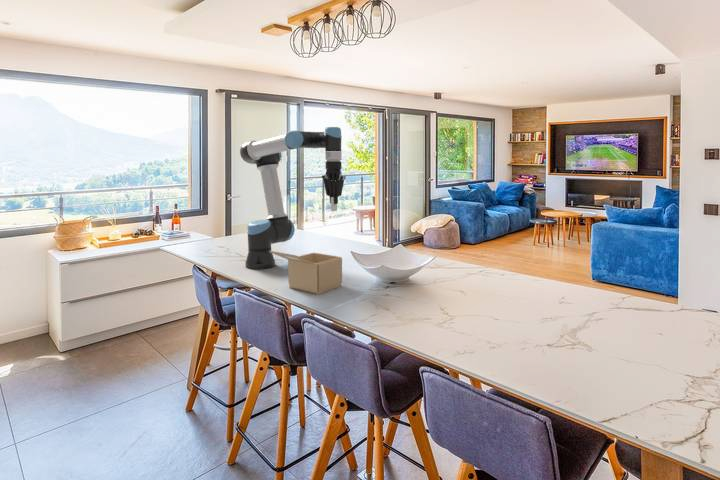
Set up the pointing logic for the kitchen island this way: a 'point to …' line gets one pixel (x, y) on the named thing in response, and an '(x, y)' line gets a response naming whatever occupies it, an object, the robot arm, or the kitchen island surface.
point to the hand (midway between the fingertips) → (333, 210)
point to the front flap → (291, 257)
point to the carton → (315, 273)
